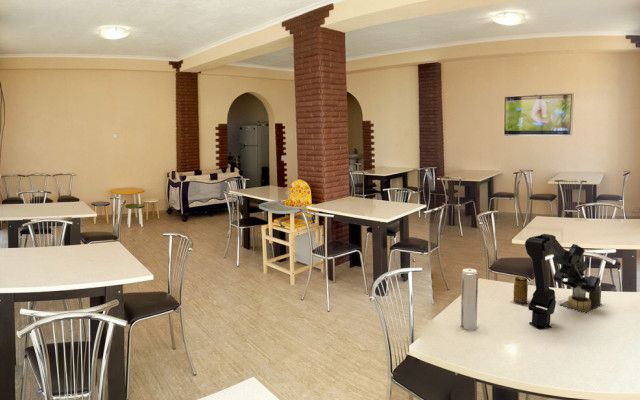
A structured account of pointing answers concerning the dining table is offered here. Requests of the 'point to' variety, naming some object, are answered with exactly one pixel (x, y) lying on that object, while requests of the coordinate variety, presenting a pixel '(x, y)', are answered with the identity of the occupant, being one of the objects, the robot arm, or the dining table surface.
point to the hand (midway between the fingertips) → (581, 289)
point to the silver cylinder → (469, 299)
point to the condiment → (520, 291)
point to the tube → (579, 292)
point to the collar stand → (585, 305)
